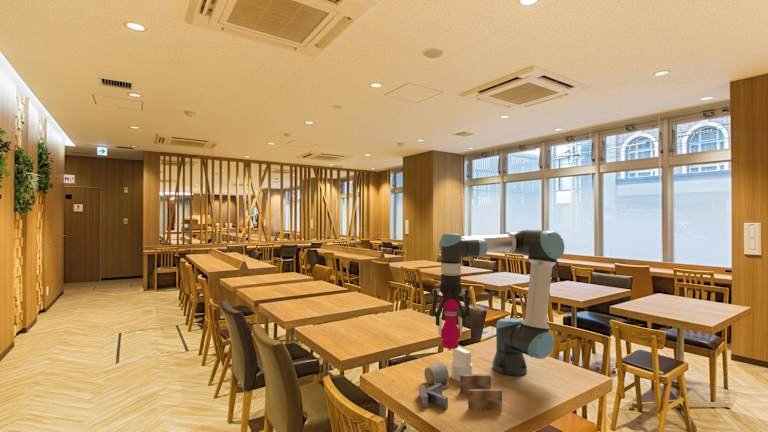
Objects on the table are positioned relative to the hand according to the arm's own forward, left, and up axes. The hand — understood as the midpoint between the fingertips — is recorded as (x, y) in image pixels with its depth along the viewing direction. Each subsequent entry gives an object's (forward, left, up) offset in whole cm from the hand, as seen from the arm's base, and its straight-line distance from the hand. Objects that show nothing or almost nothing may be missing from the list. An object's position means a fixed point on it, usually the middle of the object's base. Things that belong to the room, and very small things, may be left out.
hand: (450, 334), depth 150 cm
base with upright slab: (-10, -22, -26) cm, 35 cm away
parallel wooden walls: (-12, 0, -26) cm, 28 cm away
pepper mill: (0, 0, -5) cm, 5 cm away
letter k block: (+6, 0, -26) cm, 26 cm away
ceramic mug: (+2, -16, -26) cm, 30 cm away
